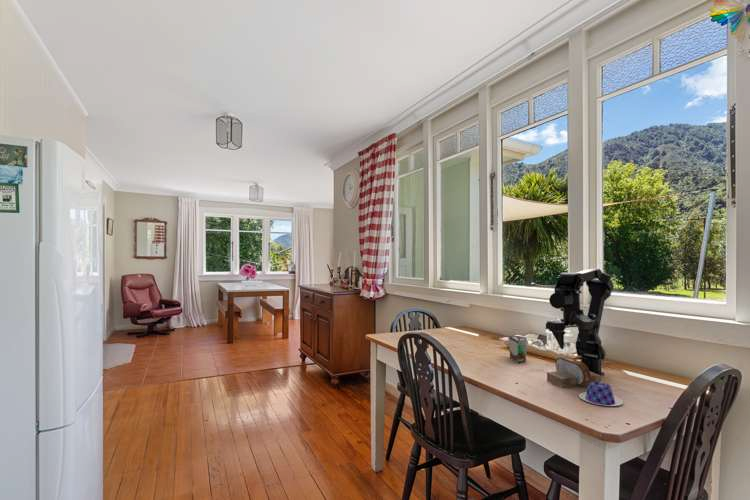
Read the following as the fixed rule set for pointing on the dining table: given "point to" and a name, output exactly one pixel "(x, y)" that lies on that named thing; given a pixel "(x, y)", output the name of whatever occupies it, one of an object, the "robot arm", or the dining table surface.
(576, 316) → the robot arm
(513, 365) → the dining table surface
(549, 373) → the slotted rail
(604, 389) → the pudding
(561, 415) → the dining table surface
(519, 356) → the food container
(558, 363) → the tin
